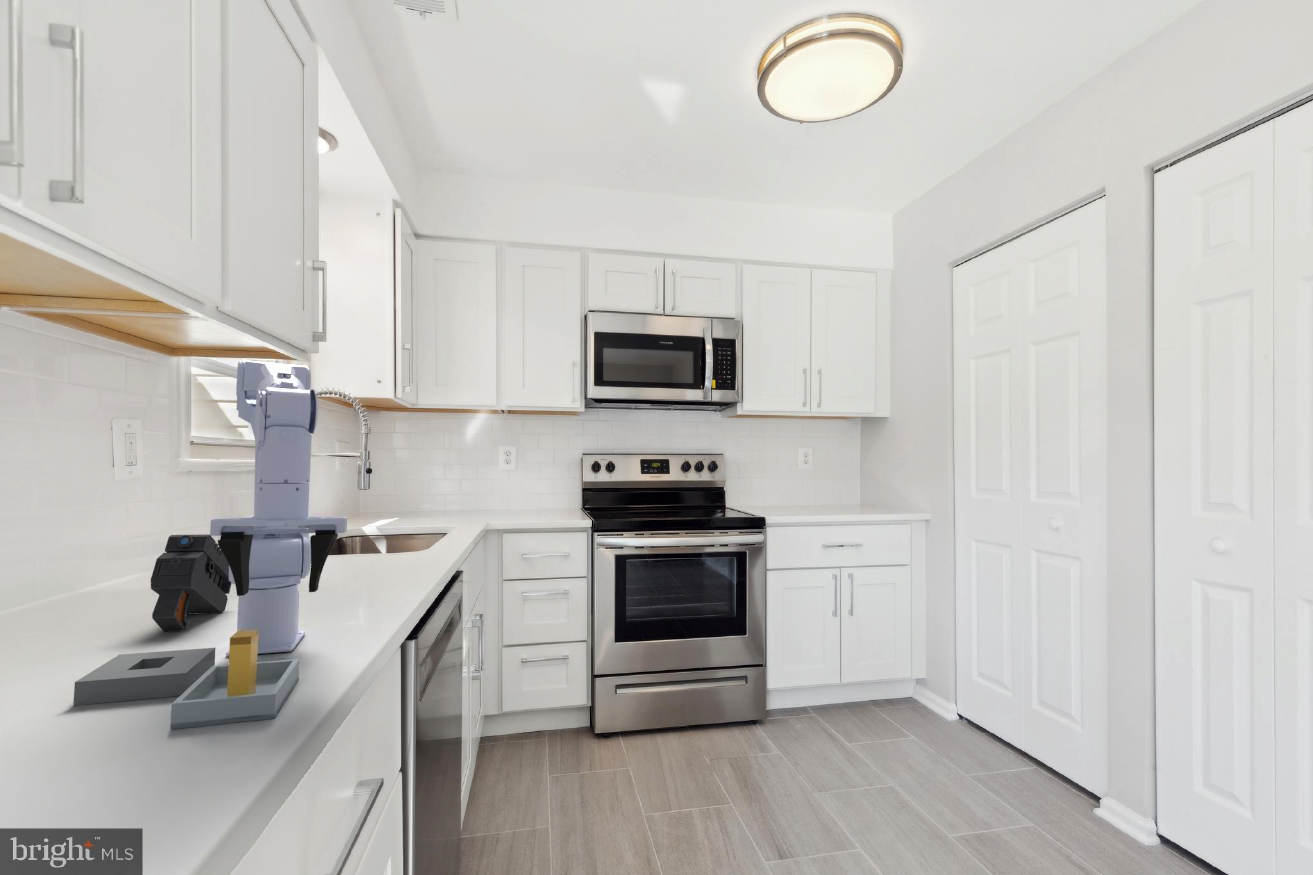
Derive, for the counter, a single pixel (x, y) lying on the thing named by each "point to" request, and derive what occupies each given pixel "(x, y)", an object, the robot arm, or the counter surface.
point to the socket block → (144, 676)
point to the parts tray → (214, 707)
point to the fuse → (243, 663)
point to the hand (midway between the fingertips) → (278, 592)
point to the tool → (189, 580)
